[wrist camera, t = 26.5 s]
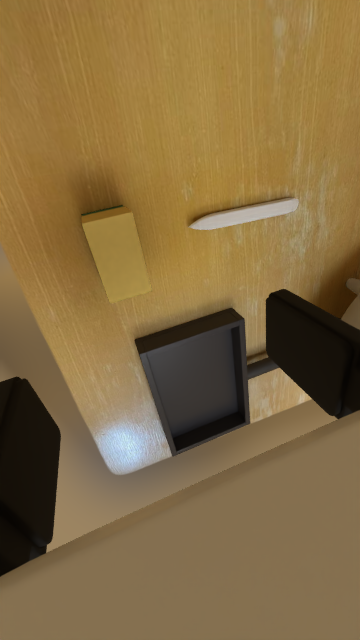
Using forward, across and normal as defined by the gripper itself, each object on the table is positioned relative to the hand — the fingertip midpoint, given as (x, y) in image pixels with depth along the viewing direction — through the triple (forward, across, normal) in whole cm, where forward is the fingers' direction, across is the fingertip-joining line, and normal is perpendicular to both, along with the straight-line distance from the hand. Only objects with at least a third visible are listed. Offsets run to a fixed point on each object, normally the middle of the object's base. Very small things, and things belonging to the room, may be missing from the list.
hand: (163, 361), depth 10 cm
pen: (+20, -15, 0) cm, 25 cm away
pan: (+20, -6, +22) cm, 31 cm away
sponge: (+20, 0, 0) cm, 20 cm away
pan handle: (+19, -16, +22) cm, 33 cm away
